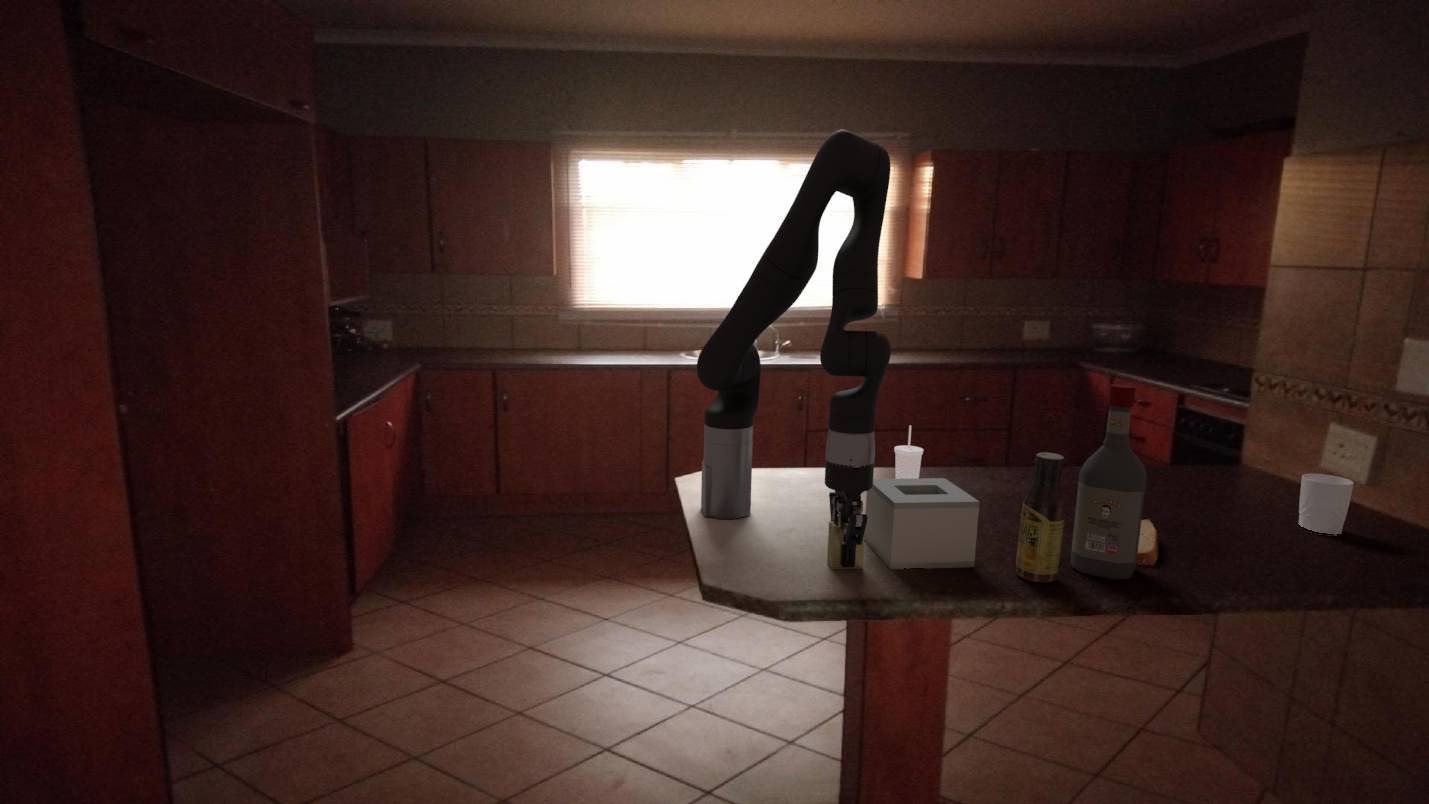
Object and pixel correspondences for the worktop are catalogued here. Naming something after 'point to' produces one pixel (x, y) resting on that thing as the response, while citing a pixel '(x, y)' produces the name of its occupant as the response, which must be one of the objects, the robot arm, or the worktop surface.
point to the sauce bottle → (1042, 522)
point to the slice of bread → (1147, 544)
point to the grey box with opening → (921, 523)
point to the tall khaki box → (835, 549)
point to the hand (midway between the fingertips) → (844, 562)
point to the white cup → (1324, 502)
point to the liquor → (1110, 498)
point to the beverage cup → (908, 460)
